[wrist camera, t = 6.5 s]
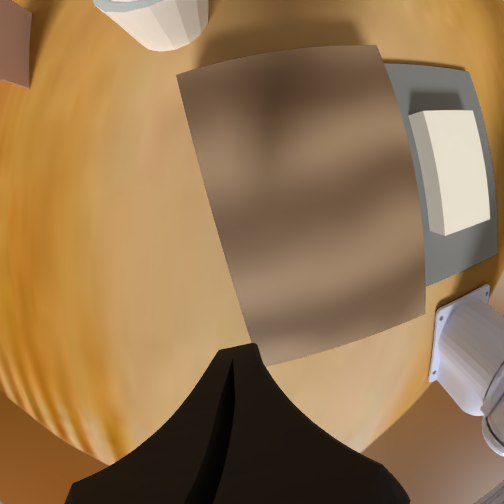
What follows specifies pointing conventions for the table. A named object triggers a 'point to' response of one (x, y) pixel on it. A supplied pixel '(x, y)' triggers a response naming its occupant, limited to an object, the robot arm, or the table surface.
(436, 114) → the tile
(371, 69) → the platform
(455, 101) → the mat
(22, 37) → the greeting card
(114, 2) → the white cup
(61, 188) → the table surface
